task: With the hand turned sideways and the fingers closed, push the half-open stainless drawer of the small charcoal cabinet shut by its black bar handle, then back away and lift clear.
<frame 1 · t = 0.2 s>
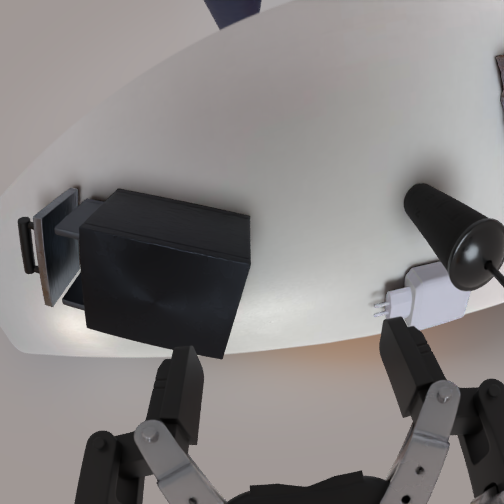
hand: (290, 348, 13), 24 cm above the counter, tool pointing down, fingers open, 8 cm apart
cabinet: (174, 248, 38), on the counter
drawer: (91, 255, 32), point 5 cm above the counter, slide at 5.0 cm
charger: (414, 288, 42), on the counter
drinking cup: (419, 200, 35), on the counter
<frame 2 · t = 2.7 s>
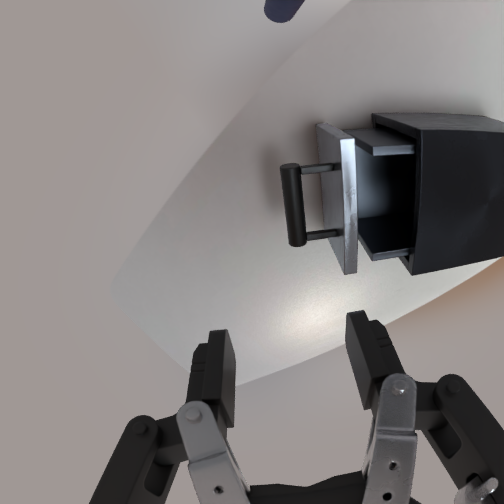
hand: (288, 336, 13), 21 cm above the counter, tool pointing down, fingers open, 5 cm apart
cabinet: (434, 167, 30), on the counter
drawer: (383, 188, 27), point 5 cm above the counter, slide at 5.0 cm
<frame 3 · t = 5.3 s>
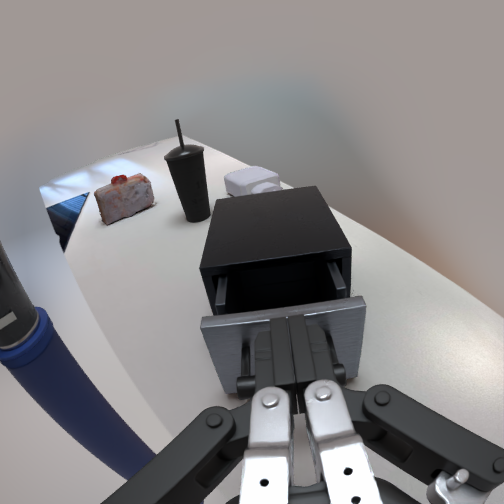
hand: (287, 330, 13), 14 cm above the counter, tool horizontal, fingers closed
food item: (129, 213, 73), on the counter
cabinet: (280, 295, 38), on the counter
drawer: (282, 313, 27), point 5 cm above the counter, slide at 5.0 cm
charger: (259, 197, 67), on the counter
drinking cup: (198, 217, 63), on the counter
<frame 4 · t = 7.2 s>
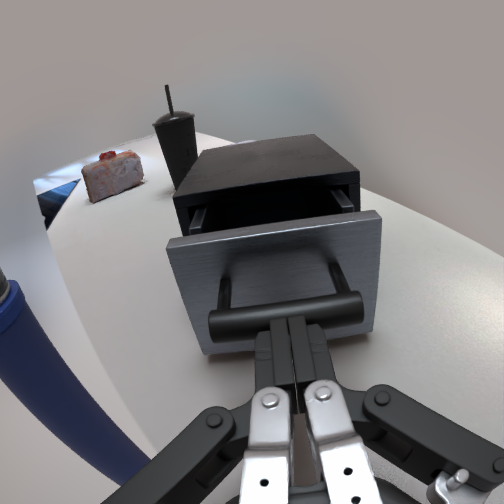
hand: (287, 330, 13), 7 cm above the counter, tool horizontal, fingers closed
food item: (117, 192, 67), on the counter
cabinet: (275, 254, 32), on the counter
drawer: (276, 252, 22), point 5 cm above the counter, slide at 4.4 cm, touching gripper
drinking cup: (189, 190, 57), on the counter
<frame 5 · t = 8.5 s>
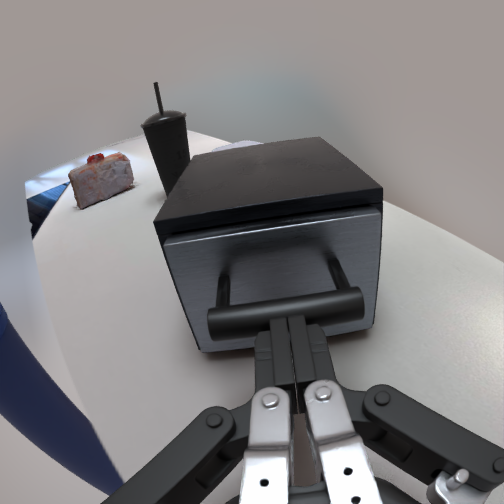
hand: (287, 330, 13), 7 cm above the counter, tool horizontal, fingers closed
food item: (106, 196, 63), on the counter
cabinet: (277, 276, 28), on the counter
drawer: (274, 248, 22), point 5 cm above the counter, slide at 0.0 cm, touching cabinet, gripper
charger: (251, 172, 58), on the counter
drinking cup: (181, 195, 53), on the counter
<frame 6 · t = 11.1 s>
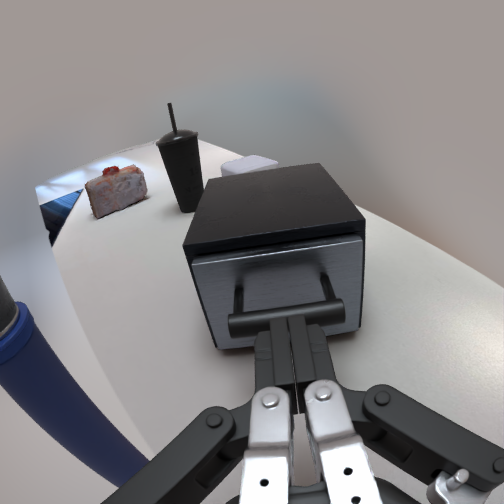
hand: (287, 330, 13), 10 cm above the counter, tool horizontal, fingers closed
food item: (121, 207, 68), on the counter
cabinet: (281, 285, 33), on the counter
drawer: (278, 264, 27), point 5 cm above the counter, slide at 0.0 cm, touching cabinet
charger: (258, 186, 63), on the counter
drinking cup: (193, 208, 58), on the counter
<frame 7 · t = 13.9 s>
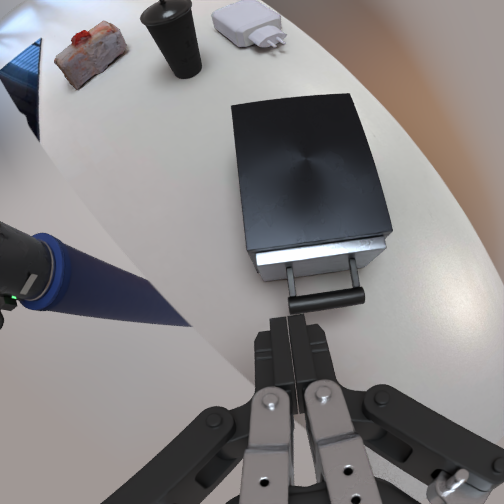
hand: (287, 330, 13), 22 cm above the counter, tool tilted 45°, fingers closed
food item: (99, 66, 50), on the counter
cabinet: (302, 202, 38), on the counter
drawer: (310, 217, 32), point 5 cm above the counter, slide at 0.0 cm, touching cabinet
charger: (256, 37, 47), on the counter
drinking cup: (188, 70, 46), on the counter
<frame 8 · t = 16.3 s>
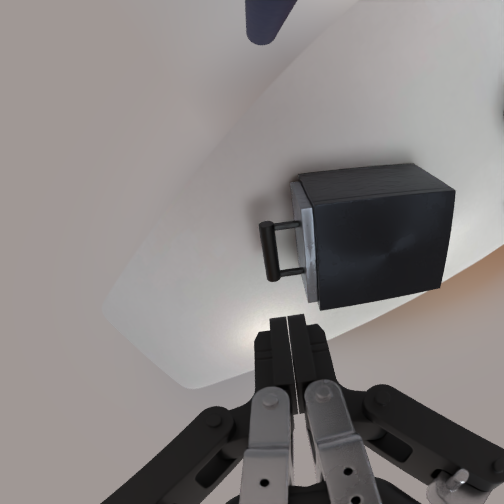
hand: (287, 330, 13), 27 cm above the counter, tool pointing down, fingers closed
cabinet: (360, 213, 40), on the counter
drawer: (342, 235, 36), point 5 cm above the counter, slide at 0.0 cm, touching cabinet
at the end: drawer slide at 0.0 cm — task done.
